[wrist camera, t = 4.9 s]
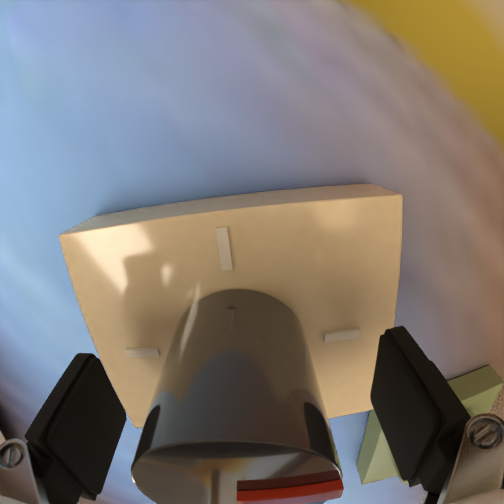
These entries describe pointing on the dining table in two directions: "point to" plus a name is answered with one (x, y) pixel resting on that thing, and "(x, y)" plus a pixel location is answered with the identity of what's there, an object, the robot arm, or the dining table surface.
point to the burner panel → (243, 279)
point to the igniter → (469, 393)
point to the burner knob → (237, 411)
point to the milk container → (2, 436)
